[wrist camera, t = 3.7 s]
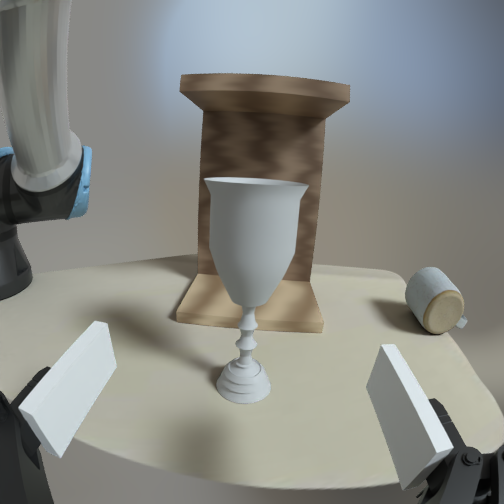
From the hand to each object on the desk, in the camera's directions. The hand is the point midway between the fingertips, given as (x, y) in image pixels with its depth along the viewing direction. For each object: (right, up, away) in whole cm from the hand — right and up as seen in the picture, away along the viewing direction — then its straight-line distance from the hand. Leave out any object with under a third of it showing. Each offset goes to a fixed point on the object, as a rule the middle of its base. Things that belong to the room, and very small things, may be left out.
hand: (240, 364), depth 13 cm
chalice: (0, -7, +12) cm, 14 cm away
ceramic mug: (+28, -6, +24) cm, 37 cm away
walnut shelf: (0, -2, +29) cm, 29 cm away
